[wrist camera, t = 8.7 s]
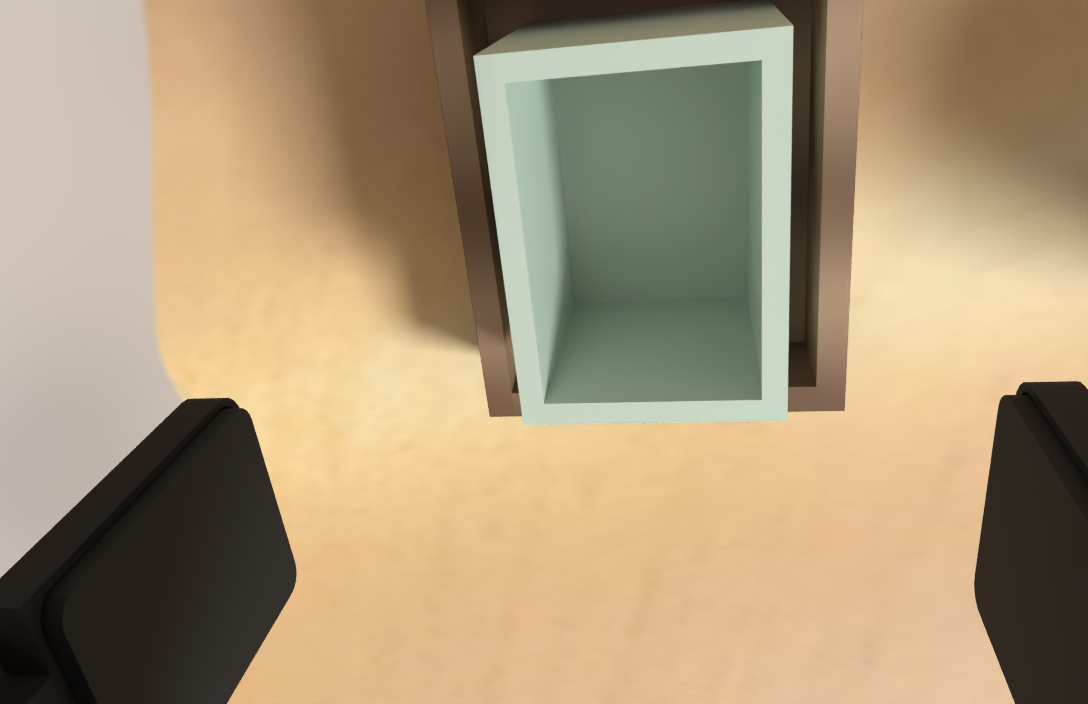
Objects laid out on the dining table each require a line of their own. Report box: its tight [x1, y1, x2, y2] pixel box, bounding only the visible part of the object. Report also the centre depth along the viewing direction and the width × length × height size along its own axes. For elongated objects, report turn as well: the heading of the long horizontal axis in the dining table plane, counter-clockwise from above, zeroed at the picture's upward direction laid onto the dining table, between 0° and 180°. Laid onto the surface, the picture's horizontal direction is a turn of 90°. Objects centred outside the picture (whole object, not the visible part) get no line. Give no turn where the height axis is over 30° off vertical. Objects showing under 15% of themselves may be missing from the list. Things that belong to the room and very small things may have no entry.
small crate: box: [473, 0, 793, 425], centre depth 23 cm, size 9×6×7 cm
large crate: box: [425, 0, 863, 417], centre depth 25 cm, size 13×10×4 cm
